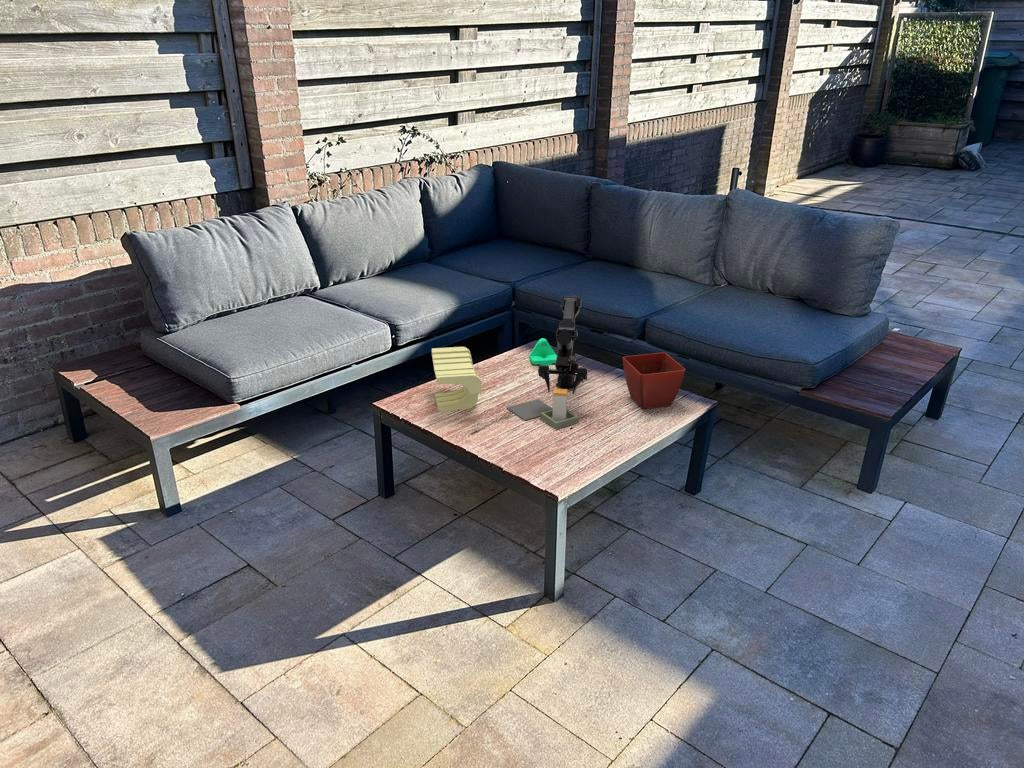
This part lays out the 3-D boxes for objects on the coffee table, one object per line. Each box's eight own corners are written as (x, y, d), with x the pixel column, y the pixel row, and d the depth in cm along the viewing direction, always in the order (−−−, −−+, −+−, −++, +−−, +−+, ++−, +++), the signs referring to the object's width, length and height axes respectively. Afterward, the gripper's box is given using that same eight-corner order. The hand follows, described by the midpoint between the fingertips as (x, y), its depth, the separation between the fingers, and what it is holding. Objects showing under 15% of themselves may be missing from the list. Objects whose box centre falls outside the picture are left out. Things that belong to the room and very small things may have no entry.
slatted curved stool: (481, 417, 311) (481, 374, 303) (440, 420, 308) (439, 377, 301) (470, 386, 338) (470, 346, 330) (432, 388, 335) (431, 348, 328)
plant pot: (637, 414, 315) (641, 374, 308) (619, 394, 331) (621, 356, 325) (682, 408, 319) (686, 369, 312) (661, 389, 336) (665, 352, 329)
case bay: (562, 412, 315) (562, 406, 314) (578, 422, 307) (579, 416, 306) (540, 418, 310) (540, 412, 309) (556, 429, 302) (556, 423, 301)
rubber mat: (538, 400, 325) (538, 398, 325) (556, 412, 315) (556, 410, 315) (506, 408, 318) (506, 407, 318) (524, 421, 308) (524, 419, 308)
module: (553, 418, 311) (554, 388, 306) (566, 418, 310) (567, 389, 305) (552, 422, 307) (553, 392, 302) (565, 423, 306) (566, 393, 301)
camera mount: (533, 366, 358) (533, 345, 354) (529, 360, 365) (529, 339, 360) (559, 364, 360) (560, 343, 356) (554, 358, 367) (555, 337, 363)
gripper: (539, 345, 307) (535, 383, 301) (588, 348, 304) (585, 387, 299) (541, 357, 317) (537, 394, 311) (588, 360, 315) (585, 397, 309)
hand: (560, 393), depth 307 cm, fingers open, 9 cm apart
